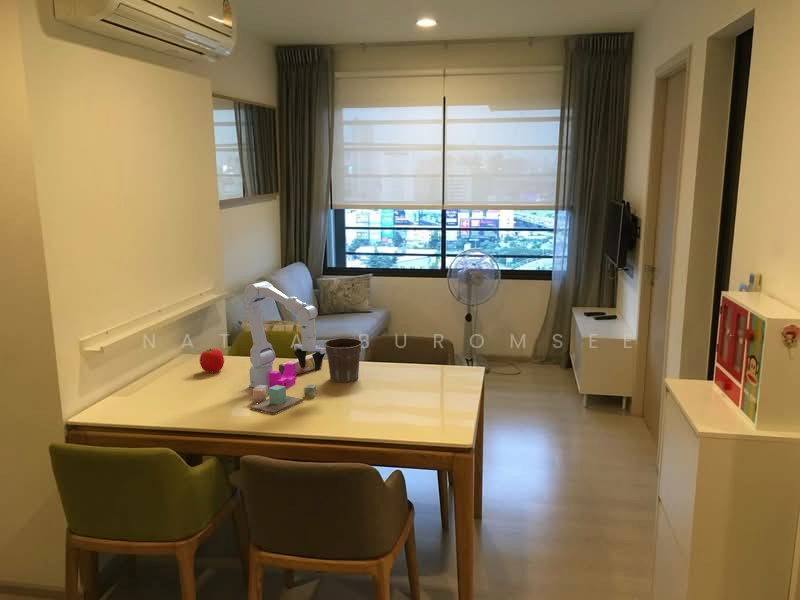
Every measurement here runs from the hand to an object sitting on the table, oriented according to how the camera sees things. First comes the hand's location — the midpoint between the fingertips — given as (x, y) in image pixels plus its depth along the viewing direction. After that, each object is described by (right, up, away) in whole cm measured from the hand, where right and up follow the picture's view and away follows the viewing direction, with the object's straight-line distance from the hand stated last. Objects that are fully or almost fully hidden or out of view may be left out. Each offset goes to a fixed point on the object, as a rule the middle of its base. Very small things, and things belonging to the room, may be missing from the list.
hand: (310, 368), depth 255 cm
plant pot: (+12, -7, +20) cm, 24 cm away
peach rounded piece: (-19, -12, -6) cm, 23 cm away
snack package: (-9, -5, +32) cm, 33 cm away
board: (-11, -13, -11) cm, 20 cm away
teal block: (-11, -12, -10) cm, 19 cm away
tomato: (-49, -5, +35) cm, 61 cm away
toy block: (-12, -9, +14) cm, 21 cm away
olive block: (0, -11, 0) cm, 11 cm away
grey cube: (-20, -11, 0) cm, 23 cm away
